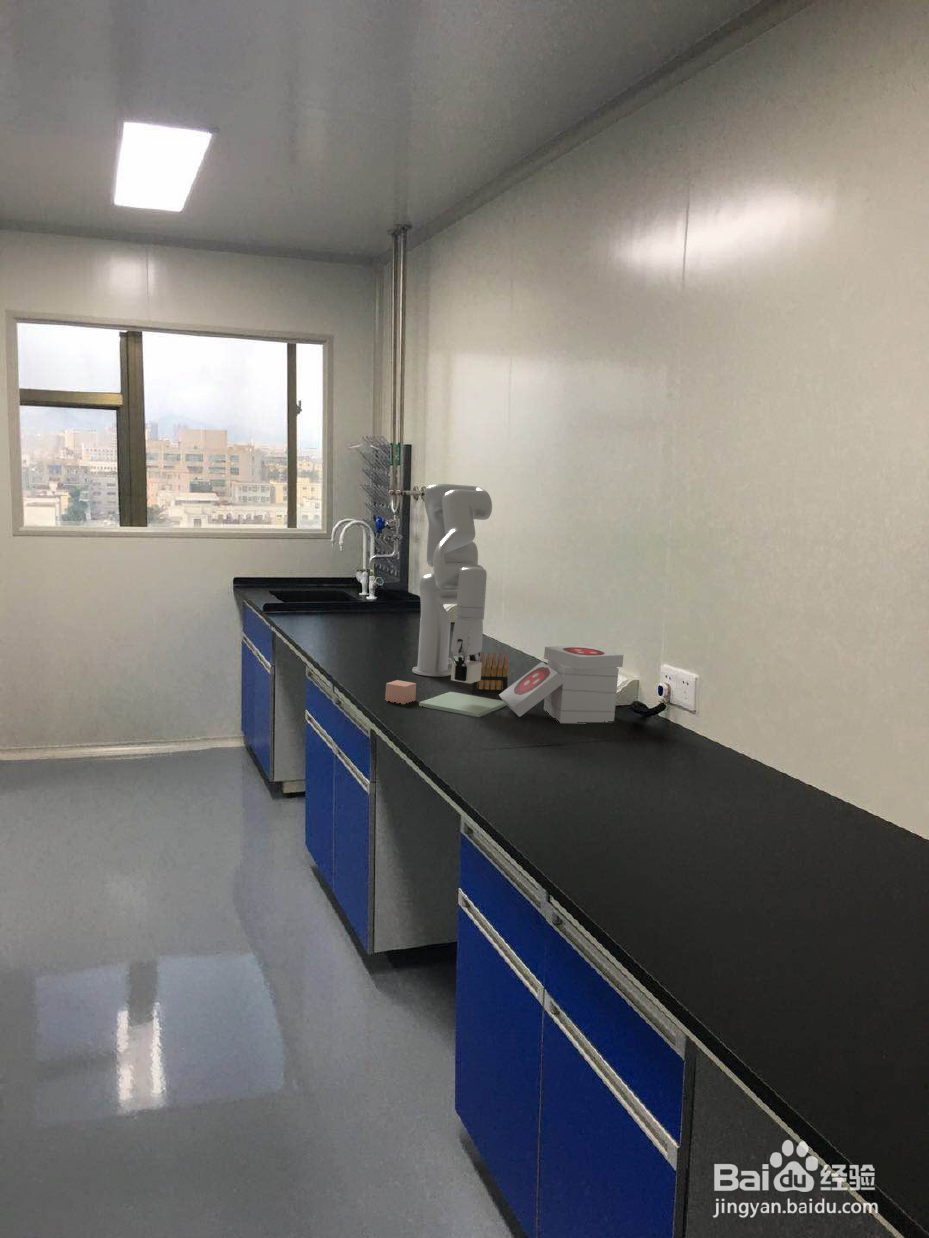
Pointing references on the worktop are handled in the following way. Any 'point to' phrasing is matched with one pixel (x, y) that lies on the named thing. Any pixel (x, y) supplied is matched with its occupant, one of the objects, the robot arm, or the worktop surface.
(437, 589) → the robot arm
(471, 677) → the cream brick
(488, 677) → the ammunition clip
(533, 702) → the pizza boxes
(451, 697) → the base plate
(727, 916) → the worktop surface
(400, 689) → the coral brick
